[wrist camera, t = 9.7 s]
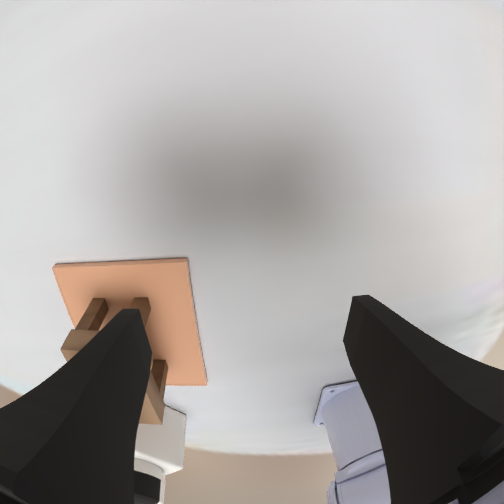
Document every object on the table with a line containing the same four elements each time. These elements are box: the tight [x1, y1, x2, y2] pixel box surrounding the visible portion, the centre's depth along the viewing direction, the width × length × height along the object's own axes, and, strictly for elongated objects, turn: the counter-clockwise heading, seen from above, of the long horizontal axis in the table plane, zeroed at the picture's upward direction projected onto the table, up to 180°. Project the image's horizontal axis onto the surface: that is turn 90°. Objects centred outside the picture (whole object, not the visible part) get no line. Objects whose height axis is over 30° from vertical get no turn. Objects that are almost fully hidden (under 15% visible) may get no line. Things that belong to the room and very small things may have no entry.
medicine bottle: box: [134, 406, 186, 504], centre depth 22 cm, size 7×7×12 cm
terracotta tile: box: [52, 258, 207, 386], centre depth 22 cm, size 11×13×1 cm
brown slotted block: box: [61, 297, 168, 425], centre depth 19 cm, size 5×8×6 cm, turn 1°
